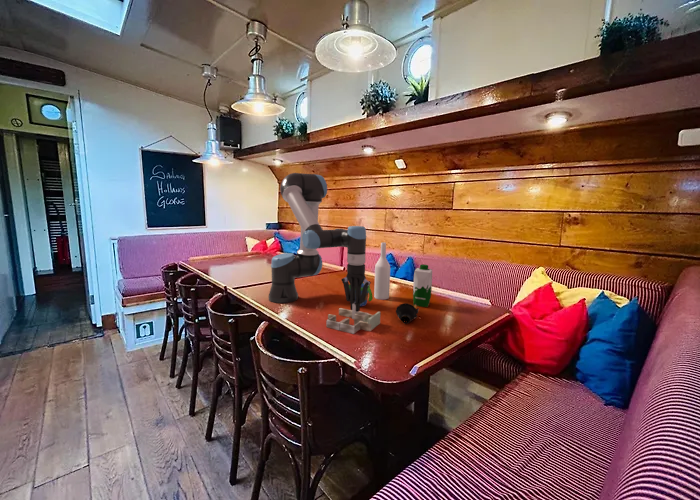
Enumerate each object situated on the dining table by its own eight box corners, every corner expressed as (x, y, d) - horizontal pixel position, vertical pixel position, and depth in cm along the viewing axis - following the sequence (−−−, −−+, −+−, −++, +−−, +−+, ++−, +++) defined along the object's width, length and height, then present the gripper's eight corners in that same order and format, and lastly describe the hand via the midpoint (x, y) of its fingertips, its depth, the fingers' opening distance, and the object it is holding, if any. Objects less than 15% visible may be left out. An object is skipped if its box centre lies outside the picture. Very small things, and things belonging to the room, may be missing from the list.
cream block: (354, 324, 129) (354, 314, 129) (358, 321, 133) (359, 311, 132) (363, 326, 127) (363, 316, 126) (368, 323, 131) (368, 313, 130)
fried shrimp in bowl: (391, 314, 129) (395, 290, 145) (401, 334, 133) (404, 308, 148) (412, 309, 126) (414, 285, 141) (421, 329, 129) (422, 303, 145)
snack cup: (341, 302, 158) (341, 283, 156) (356, 298, 164) (357, 280, 163) (361, 310, 146) (361, 290, 144) (377, 306, 152) (378, 286, 151)
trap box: (320, 325, 127) (320, 314, 127) (339, 314, 141) (340, 303, 140) (363, 336, 118) (364, 324, 117) (380, 323, 131) (380, 311, 131)
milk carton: (431, 303, 159) (433, 265, 156) (429, 308, 151) (431, 268, 148) (414, 300, 163) (416, 263, 160) (411, 305, 154) (413, 266, 151)
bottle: (378, 294, 173) (380, 241, 168) (391, 297, 168) (393, 242, 164) (371, 297, 166) (373, 242, 162) (384, 300, 162) (386, 244, 157)
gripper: (338, 263, 128) (337, 317, 131) (366, 266, 121) (364, 324, 125) (347, 260, 134) (346, 312, 138) (374, 263, 128) (372, 318, 131)
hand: (355, 317), depth 131 cm, fingers closed
